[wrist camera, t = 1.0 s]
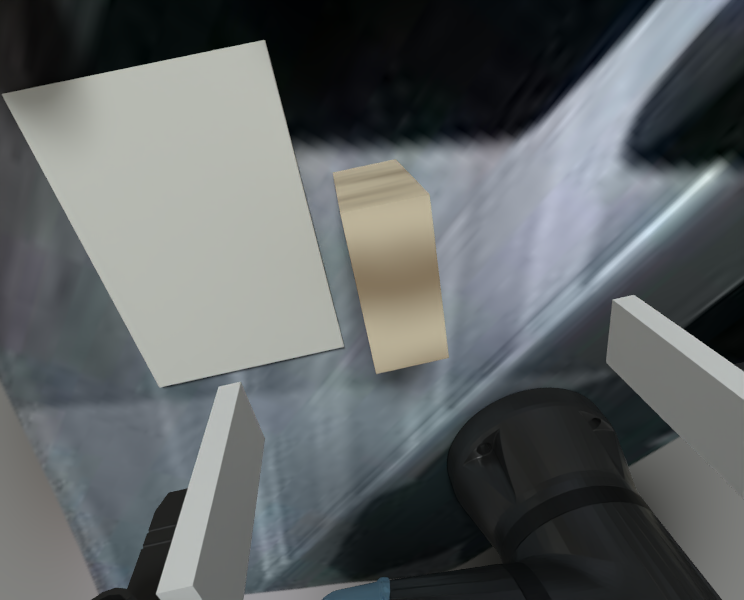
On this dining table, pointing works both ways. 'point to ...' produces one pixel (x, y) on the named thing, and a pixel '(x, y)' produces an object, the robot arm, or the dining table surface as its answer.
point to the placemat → (189, 208)
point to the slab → (393, 263)
